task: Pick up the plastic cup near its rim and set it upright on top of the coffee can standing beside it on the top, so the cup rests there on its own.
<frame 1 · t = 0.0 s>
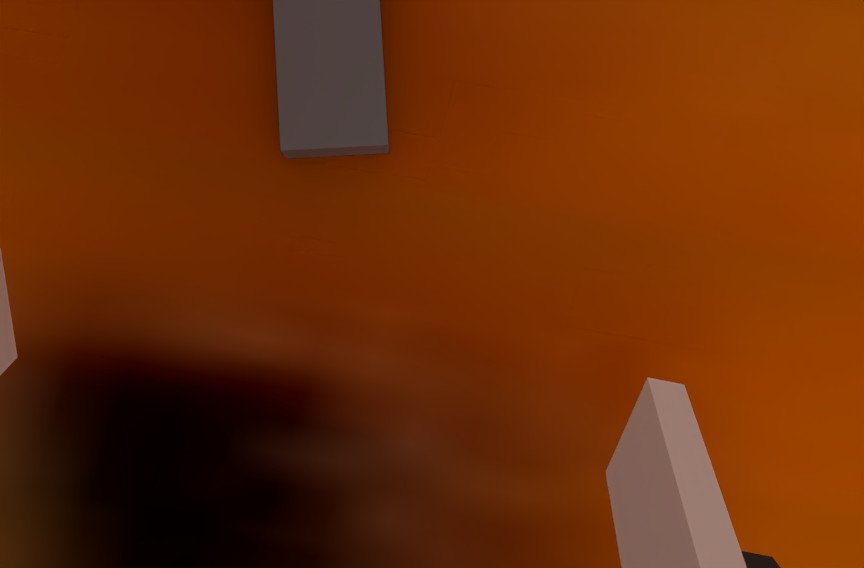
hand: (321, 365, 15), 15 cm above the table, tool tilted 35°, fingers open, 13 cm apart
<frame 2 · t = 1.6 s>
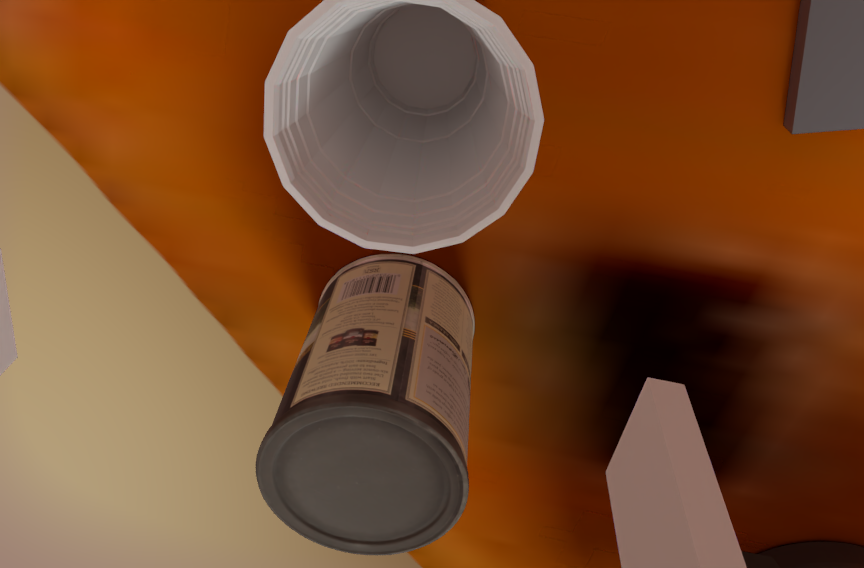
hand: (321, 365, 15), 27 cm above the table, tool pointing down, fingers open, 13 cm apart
coffee can: (397, 320, 47), on the table
plastic cup: (429, 54, 38), on the table
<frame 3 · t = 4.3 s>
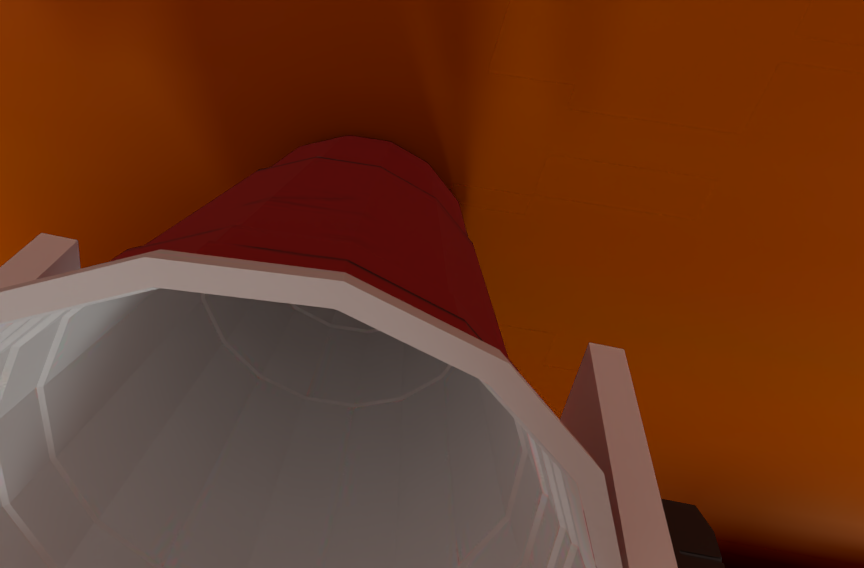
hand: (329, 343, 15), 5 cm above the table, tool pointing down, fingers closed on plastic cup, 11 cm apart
plastic cup: (370, 225, 20), on the table, touching gripper
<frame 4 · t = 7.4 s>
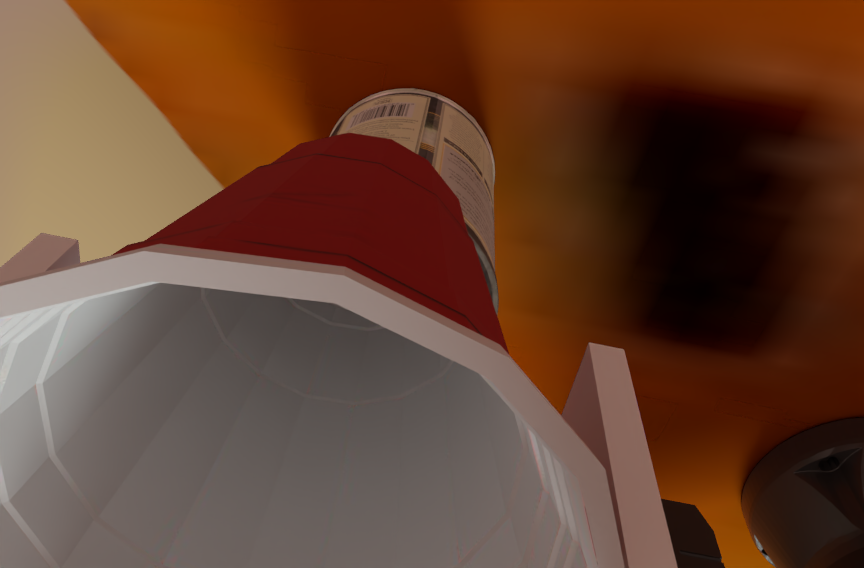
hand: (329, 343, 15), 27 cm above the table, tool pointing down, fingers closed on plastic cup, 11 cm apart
coffee can: (410, 170, 43), on the table
plastic cup: (370, 223, 20), point 22 cm above the table, touching gripper
when the fingers open (20 cm above the table, at t = 10.3 s): plastic cup stays where it is, resting on coffee can.
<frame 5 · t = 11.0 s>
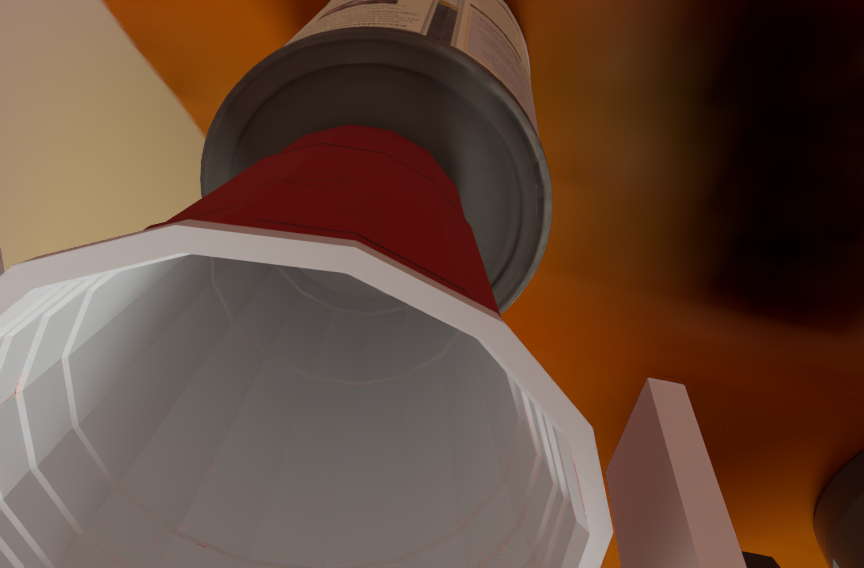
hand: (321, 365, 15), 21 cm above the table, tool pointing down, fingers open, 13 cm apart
coffee can: (420, 78, 33), on the table, touching plastic cup
plastic cup: (372, 211, 21), point 14 cm above the table, touching coffee can
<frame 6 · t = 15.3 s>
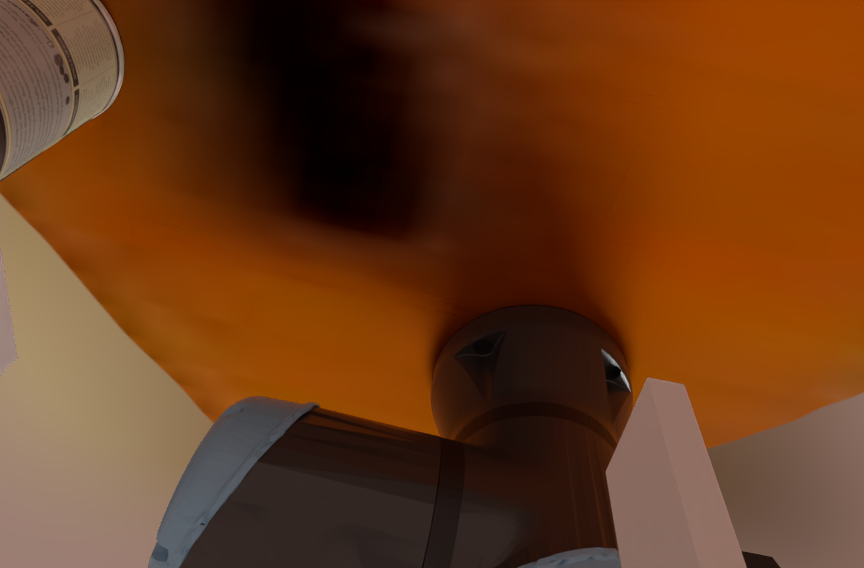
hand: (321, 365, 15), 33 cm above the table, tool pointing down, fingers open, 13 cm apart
coffee can: (48, 43, 45), on the table, touching plastic cup
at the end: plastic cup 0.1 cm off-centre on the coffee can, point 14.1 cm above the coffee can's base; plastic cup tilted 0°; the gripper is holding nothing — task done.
